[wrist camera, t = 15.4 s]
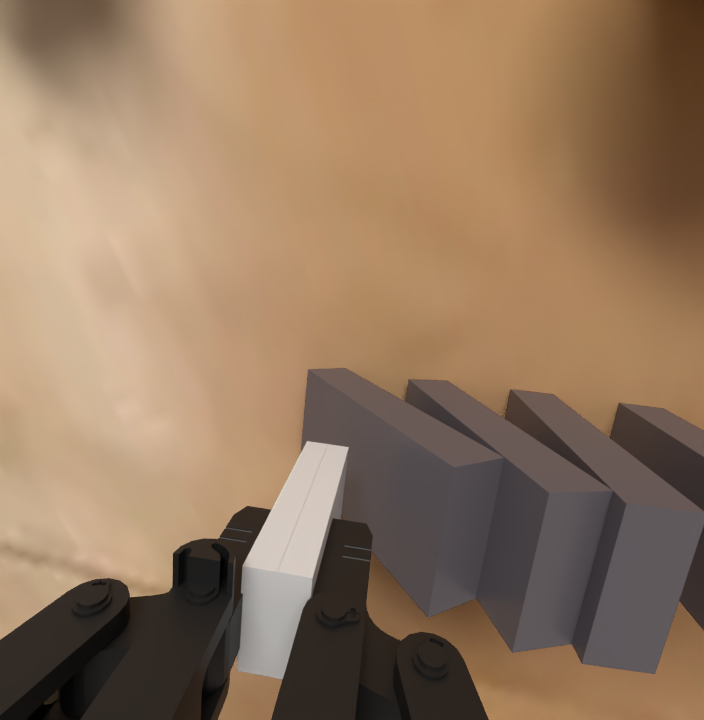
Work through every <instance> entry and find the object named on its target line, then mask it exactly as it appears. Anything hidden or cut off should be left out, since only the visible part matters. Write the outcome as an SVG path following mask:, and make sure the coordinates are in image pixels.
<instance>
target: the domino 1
mask: <svg viewBox="0 0 704 720" xmlns="http://www.w3.org/2000/svg"><path fill="white" fill-rule="evenodd" d="M307 441H310V442H317V443H324V444H331V445H337V446H344V447H349V450H348V459H347V468H346V477H345V486H344V494H343V503H342V512H341V516H342V517H343V519H344V520H347V521H353V522H360V523H366V524H367V525H368V527H369V529H370V531H371V533H372V535H373V539H372V549H371V552H372V553H373V554H374V555H375V556H376V557H377V559H378V560H379V561H380V562H381V563H382V564H383V566H384V567H385V568H386V569H387V570H388V572H389V573H390V574H391V575H392V576H393V577H394V579H395V580H396V581H397V582H398V583H399V584H400V586H401V587H402V588H403V589H404V590H405V592H406V593H407V594H408V595H409V596H410V597H411V599H412V600H413V601H414V602H415V603H416V604H417V606H418V607H419V608H420V609H421V610H422V612H423V613H424V614H425V615H426V616H427V617H428V618H429V617H431V616H434V615H436V614H439V613H441V612H443V611H446V610H448V609H451V608H453V607H456V606H458V605H461V604H463V603H466V602H468V601H470V600H473V599H475V598H476V594H477V589H478V584H479V579H480V575H481V570H482V565H483V560H484V555H485V550H486V545H487V540H488V535H489V530H490V525H491V520H492V515H493V510H494V506H495V501H496V496H497V491H498V486H499V481H500V476H501V471H502V466H503V461H504V457H502V456H501V455H499V454H497V453H495V452H494V451H492V450H490V449H488V448H486V447H485V446H483V445H481V444H479V443H478V442H476V441H474V440H472V439H470V438H469V437H467V436H465V435H463V434H462V433H460V432H458V431H456V430H454V429H453V428H451V427H449V426H447V425H446V424H444V423H442V422H440V421H438V420H437V419H435V418H433V417H431V416H430V415H428V414H426V413H424V412H422V411H421V410H419V409H417V408H415V407H414V406H412V405H410V404H408V403H407V402H405V401H403V400H401V399H399V398H398V397H396V396H394V395H392V394H391V393H389V392H387V391H385V390H383V389H382V388H380V387H378V386H376V385H375V384H373V383H371V382H369V381H367V380H366V379H364V378H362V377H360V376H359V375H357V374H355V373H353V372H351V371H350V370H348V369H346V368H336V369H309V370H308V377H307V388H306V400H305V411H304V423H303V434H302V446H301V452H302V450H303V448H304V446H305V444H306V442H307Z"/></svg>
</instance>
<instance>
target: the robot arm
mask: <svg viewBox="0 0 704 720" xmlns="http://www.w3.org/2000/svg"><path fill="white" fill-rule="evenodd" d="M348 450H349V447H344V446H337V445H331V444H324V443H317V442H310V441H307V442H306V444H305V446H304V448H303V450H302V452H301V454H300V456H299V458H298V460H297V462H296V464H295V466H294V467H293V469H292V471H291V473H290V475H289V477H288V479H287V481H286V483H285V485H284V487H283V489H282V491H281V493H280V495H279V496H278V498H277V500H276V502H275V504H274V506H273V508H272V510H269V509H263V508H257V507H250V506H247V507H245V508H244V509H242V510H241V511H239V512H237V513H236V514H234V515H233V517H232V519H231V520H230V522H229V523H228V525H227V526H226V529H224V531H223V532H222V534H221V535H220V538H218V539H200V540H195V541H191V542H189V543H187V544H185V545H183V546H181V547H180V548H179V549H177V550H176V551H175V552H174V553H173V587H172V588H171V590H170V591H169V592H167V593H165V594H159V595H153V596H142V597H130V594H129V591H128V587H127V586H126V585H125V584H124V583H122V582H121V581H119V580H114V579H110V578H107V579H95V580H92V581H89V582H85V583H82V584H80V585H78V586H77V587H75V588H73V589H71V590H69V591H68V592H66V593H65V594H64V595H62V596H61V597H60V598H58V599H57V600H55V601H54V602H53V603H51V604H50V605H48V606H47V607H46V608H44V609H43V610H41V611H40V612H39V613H37V614H36V615H34V616H33V617H32V618H30V619H29V620H27V621H26V622H25V623H23V624H22V625H21V626H19V627H18V628H16V629H15V630H14V631H12V632H11V633H9V634H8V635H7V636H5V637H4V638H2V639H1V640H0V720H218V717H219V715H220V712H221V709H222V707H223V704H224V702H225V699H226V697H227V694H228V688H229V680H230V671H231V668H232V666H233V663H234V661H235V658H236V656H237V654H238V657H237V671H241V672H247V673H252V674H257V675H262V676H268V677H273V678H278V679H283V680H282V684H281V687H280V691H279V694H278V698H277V701H276V705H275V709H274V712H273V716H272V719H271V720H489V719H488V717H487V714H486V712H485V710H484V707H483V705H482V702H481V700H480V698H479V695H478V693H477V690H476V688H475V686H474V683H473V681H472V678H471V676H470V673H469V671H468V669H467V666H466V664H465V661H464V659H463V658H462V656H461V655H460V653H459V651H458V650H457V648H455V647H454V646H453V645H452V644H451V643H450V642H448V641H447V640H446V639H444V638H442V637H440V636H437V635H435V634H432V633H425V632H419V633H414V634H410V635H408V636H407V637H406V638H404V639H403V640H401V641H400V640H397V639H395V638H393V637H391V636H389V635H388V634H386V633H384V632H383V631H381V630H380V629H379V628H378V627H377V626H376V625H375V624H374V623H373V621H372V620H371V619H370V617H369V615H368V612H367V607H366V599H367V589H368V579H369V569H370V559H371V549H372V539H373V535H372V533H371V531H370V529H369V527H368V525H367V524H366V523H360V522H353V521H347V520H341V519H340V518H341V512H342V503H343V494H344V486H345V477H346V468H347V459H348Z"/></svg>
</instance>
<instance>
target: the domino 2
mask: <svg viewBox="0 0 704 720" xmlns="http://www.w3.org/2000/svg"><path fill="white" fill-rule="evenodd" d="M406 402H407V403H408V404H410V405H412V406H414V407H415V408H417V409H419V410H421V411H422V412H424V413H426V414H428V415H430V416H431V417H433V418H435V419H437V420H438V421H440V422H442V423H444V424H446V425H447V426H449V427H451V428H453V429H454V430H456V431H458V432H460V433H462V434H463V435H465V436H467V437H469V438H470V439H472V440H474V441H476V442H478V443H479V444H481V445H483V446H485V447H486V448H488V449H490V450H492V451H494V452H495V453H497V454H499V455H501V456H502V457H504V461H503V466H502V471H501V476H500V481H499V486H498V491H497V496H496V501H495V506H494V510H493V515H492V520H491V525H490V530H489V535H488V540H487V545H486V550H485V555H484V560H483V565H482V570H481V575H480V579H479V584H478V589H477V594H476V599H477V600H478V602H479V603H480V605H481V606H482V608H483V609H484V611H485V612H486V614H487V615H488V617H489V618H490V620H491V621H492V623H493V624H494V626H495V627H496V629H497V630H498V632H499V633H500V635H501V636H502V638H503V639H504V641H505V642H506V644H507V645H508V647H509V648H510V650H511V651H512V653H513V652H520V651H527V650H533V649H540V648H547V647H554V646H561V645H568V644H572V641H573V637H574V634H575V630H576V626H577V623H578V619H579V615H580V611H581V608H582V604H583V600H584V597H585V593H586V589H587V585H588V582H589V578H590V574H591V571H592V567H593V563H594V560H595V556H596V552H597V548H598V545H599V541H600V537H601V534H602V530H603V526H604V522H605V519H606V515H607V511H608V508H609V504H610V500H611V497H612V493H613V490H611V489H610V488H608V487H607V486H605V485H604V484H602V483H601V482H599V481H598V480H596V479H595V478H593V477H592V476H590V475H589V474H587V473H586V472H584V471H583V470H581V469H580V468H578V467H577V466H575V465H574V464H572V463H571V462H569V461H568V460H566V459H565V458H563V457H562V456H560V455H559V454H557V453H556V452H554V451H553V450H551V449H550V448H548V447H546V446H545V445H543V444H542V443H540V442H539V441H537V440H536V439H534V438H533V437H531V436H530V435H528V434H527V433H525V432H524V431H522V430H521V429H519V428H518V427H516V426H515V425H513V424H512V423H510V422H509V421H507V420H506V419H504V418H503V417H501V416H500V415H498V414H497V413H495V412H494V411H492V410H491V409H489V408H488V407H486V406H485V405H483V404H482V403H480V402H479V401H477V400H476V399H474V398H473V397H471V396H470V395H468V394H467V393H465V392H464V391H462V390H461V389H459V388H458V387H456V386H455V385H453V384H452V383H450V382H449V381H440V380H411V379H409V381H408V388H407V395H406Z"/></svg>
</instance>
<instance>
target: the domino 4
mask: <svg viewBox="0 0 704 720" xmlns="http://www.w3.org/2000/svg"><path fill="white" fill-rule="evenodd" d="M610 439H612V440H613V441H614V442H615V443H617V444H618V445H619V446H621V447H622V448H623V449H624V450H626V451H627V452H628V453H630V454H631V455H632V456H633V457H635V458H636V459H637V460H639V461H640V462H641V463H642V464H644V465H645V466H646V467H648V468H649V469H650V470H651V471H653V472H654V473H655V474H657V475H658V476H659V477H660V478H662V479H663V480H664V481H666V482H667V483H668V484H669V485H671V486H672V487H673V488H675V489H676V490H677V491H678V492H680V493H681V494H682V495H684V496H685V497H686V498H687V499H689V500H690V501H691V502H693V503H694V504H695V505H697V506H698V507H699V508H700V509H702V510H703V511H704V431H703V430H702V429H700V428H698V427H696V426H694V425H693V424H691V423H689V422H687V421H685V420H684V419H682V418H680V417H678V416H676V415H675V414H673V413H671V412H669V411H667V410H665V409H664V408H656V407H648V406H640V405H632V404H624V403H619V405H618V409H617V413H616V417H615V421H614V425H613V428H612V432H611V436H610ZM679 601H680V602H681V604H682V605H683V606H684V607H685V608H686V610H687V611H688V612H689V613H690V614H691V616H692V617H693V618H694V619H695V620H696V622H697V623H698V624H699V625H700V627H701V628H702V629H703V630H704V526H703V529H702V532H701V535H700V538H699V541H698V544H697V547H696V550H695V554H694V557H693V560H692V563H691V566H690V569H689V572H688V575H687V578H686V581H685V584H684V587H683V590H682V593H681V596H680V599H679Z"/></svg>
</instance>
